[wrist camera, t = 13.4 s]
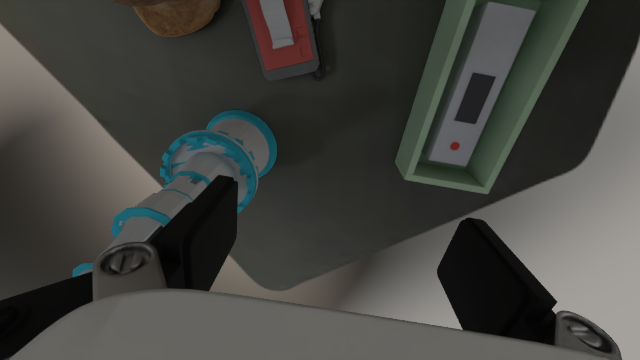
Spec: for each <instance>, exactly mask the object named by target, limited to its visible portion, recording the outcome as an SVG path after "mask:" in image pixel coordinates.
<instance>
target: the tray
mask: <svg viewBox="0 0 640 360" xmlns="http://www.w3.org/2000/svg"><path fill="white" fill-rule="evenodd" d="M588 1H589V0H446V3H445V6H444V9H443V12H442V15H441V18H440V22H439V25H438V28H437V31H436V34H435V37H434V40H433V44H432V47H431V50H430V53H429V56H428V59H427V62H426V65H425V69H424V72H423V75H422V78H421V81H420V84H419V87H418V91H417V94H416V97H415V100H414V103H413V106H412V109H411V113H410V116H409V119H408V122H407V125H406V128H405V131H404V134H403V138H402V141H401V144H400V147H399V150H398V153H397V156H396V160H395V164H396V165H397V167H398V169H399V171H400V172H401V174H402V176H403V178H404V180H409V181H415V182H421V183H426V184H432V185H438V186H443V187H449V188H455V189H461V190H466V191H472V192H478V193H483V194H488V193H489V191H490V188H491V187H492V185H493V183H494V181H495V179H496V178H497V176H498V174H499V172H500V170H501V168H502V166H503V164H504V162H505V160H506V158H507V156H508V155H509V153H510V151H511V149H512V147H513V145H514V143H515V141H516V139H517V137H518V135H519V133H520V131H521V130H522V128H523V126H524V124H525V122H526V120H527V118H528V116H529V114H530V112H531V110H532V108H533V107H534V105H535V103H536V101H537V99H538V97H539V95H540V93H541V91H542V89H543V87H544V85H545V84H546V82H547V80H548V78H549V76H550V74H551V72H552V70H553V68H554V66H555V64H556V62H557V60H558V59H559V57H560V55H561V53H562V51H563V49H564V47H565V45H566V43H567V41H568V39H569V37H570V36H571V34H572V32H573V30H574V28H575V26H576V24H577V22H578V20H579V18H580V16H581V14H582V12H583V11H584V9H585V7H586V5H587V3H588ZM486 2H494V3H500V4H505V5H510V6H515V7H520V8H525V9H531V10H536V12H535V15H534V17H533V19H532V21H531V23H530V26H529V28H528V30H527V32H526V35H525V37H524V39H523V41H522V43H521V46H520V48H519V50H518V52H517V54H516V57H515V59H514V61H513V63H512V66H511V68H510V70H509V72H508V74H507V77H506V79H505V81H504V83H503V86H502V88H501V90H500V92H499V94H498V97H497V99H496V101H495V103H494V106H493V108H492V110H491V112H490V114H489V117H488V119H487V121H486V123H485V125H484V128H483V130H482V132H481V134H480V137H479V139H478V141H477V143H476V145H475V148H474V150H473V152H472V154H471V157H470V159H469V161H468V163H467V165H466V166H461V165H455V164H449V163H444V162H438V161H432V160H429V159H428V158H427V157H426V156H425V155H424V154H423V153H422V152H421V151H422V148H423V146H424V143H425V140H426V137H427V135H428V132H429V129H430V126H431V124H432V121H433V118H434V115H435V112H436V110H437V107H438V104H439V101H440V99H441V96H442V93H443V90H444V88H445V85H446V82H447V79H448V76H449V74H450V71H451V68H452V65H453V63H454V60H455V57H456V54H457V52H458V49H459V46H460V43H461V40H462V38H463V35H464V32H465V29H466V27H467V24H468V21H469V18H470V16H471V13H472V10H473V7H474V6H477V5H480V4H483V3H486Z"/></svg>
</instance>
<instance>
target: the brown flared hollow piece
mask: <svg viewBox="0 0 640 360" xmlns="http://www.w3.org/2000/svg"><path fill="white" fill-rule="evenodd" d="M110 1H113V2H116V3H119V4H123V5H128V6H132V7H133V8H134V9H135V11H136V13H137V14H138V16H139V17H140V18H141V19H142V21H143V22H144V23H145V24H146V26H147V27H148V28H149V29H150V30H151V31H152V32H154V33H155V34H157V35H159V36H165V37H178V36H183V35H187V34H191V33H193V32H195V31H197V30H199V29H201V28H202V27H204V26H205V25H207V24H208V23H209V22H210V21H211V20H212V18H213V15H214V12H216V11H217V10H218V9H219V7H220V0H110Z"/></svg>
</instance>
